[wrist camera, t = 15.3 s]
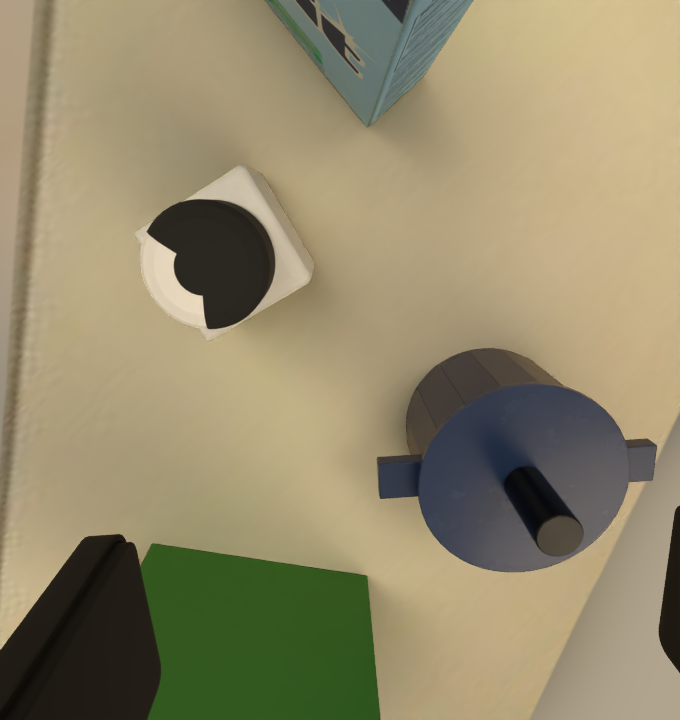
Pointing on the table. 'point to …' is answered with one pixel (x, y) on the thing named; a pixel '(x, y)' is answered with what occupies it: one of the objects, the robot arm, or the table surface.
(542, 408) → the lid
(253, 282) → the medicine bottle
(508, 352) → the pot
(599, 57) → the table surface
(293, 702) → the hardback book
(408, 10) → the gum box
